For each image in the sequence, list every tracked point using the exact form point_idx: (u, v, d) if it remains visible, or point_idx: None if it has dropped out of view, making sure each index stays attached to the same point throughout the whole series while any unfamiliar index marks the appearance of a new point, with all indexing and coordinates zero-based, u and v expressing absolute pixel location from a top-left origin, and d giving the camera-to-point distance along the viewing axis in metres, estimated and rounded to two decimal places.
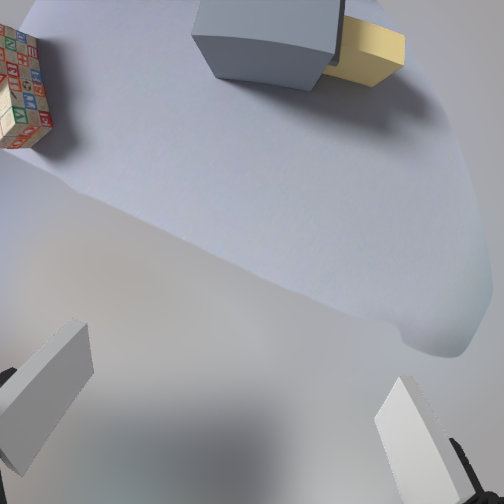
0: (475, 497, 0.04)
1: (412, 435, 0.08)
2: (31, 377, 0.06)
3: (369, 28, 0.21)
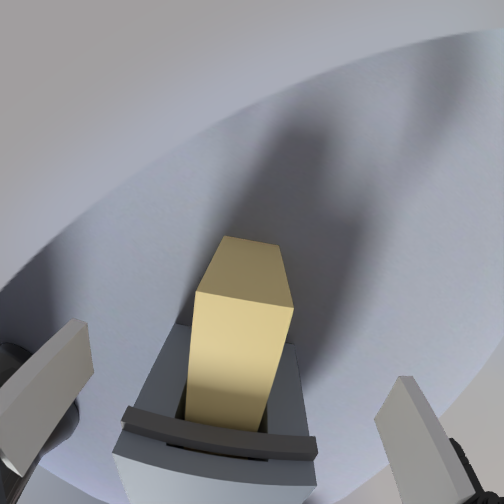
0: (475, 497, 0.04)
1: (412, 435, 0.08)
2: (31, 377, 0.06)
3: (204, 371, 0.13)
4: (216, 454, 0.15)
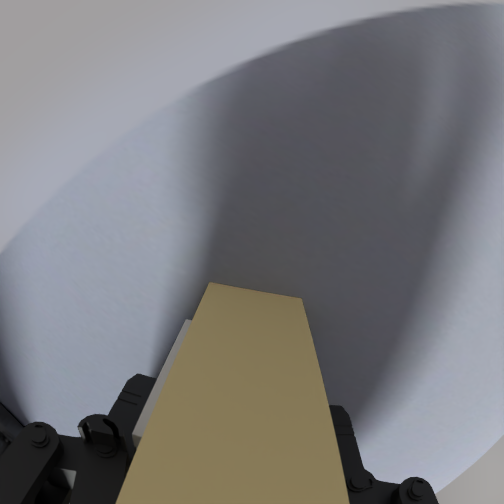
0: None
1: None
2: None
3: None
4: None
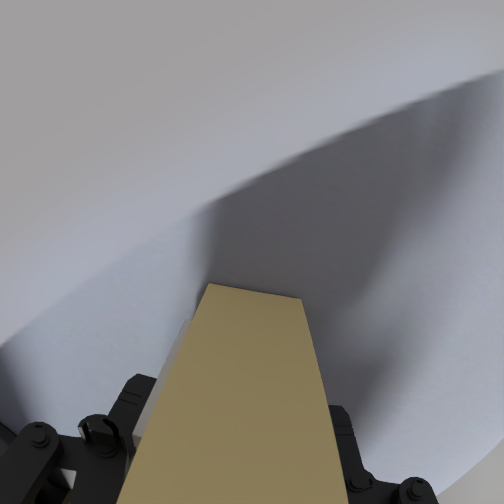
0: None
1: None
2: None
3: None
4: None
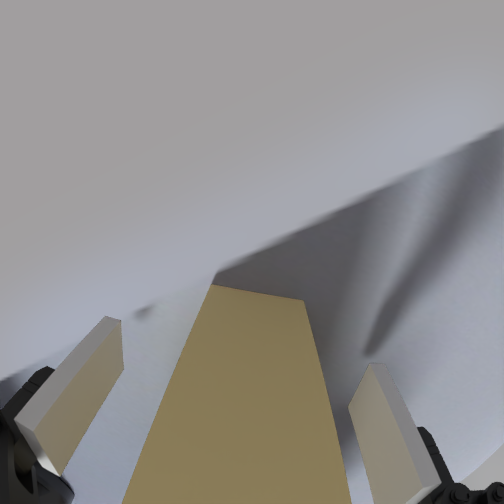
0: (444, 488, 0.05)
1: (380, 421, 0.09)
2: (72, 375, 0.07)
3: None
4: None
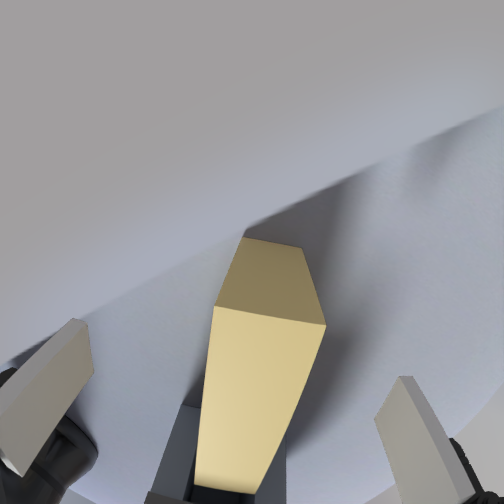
0: (475, 497, 0.04)
1: (412, 435, 0.08)
2: (31, 377, 0.06)
3: (222, 392, 0.11)
4: (230, 472, 0.13)
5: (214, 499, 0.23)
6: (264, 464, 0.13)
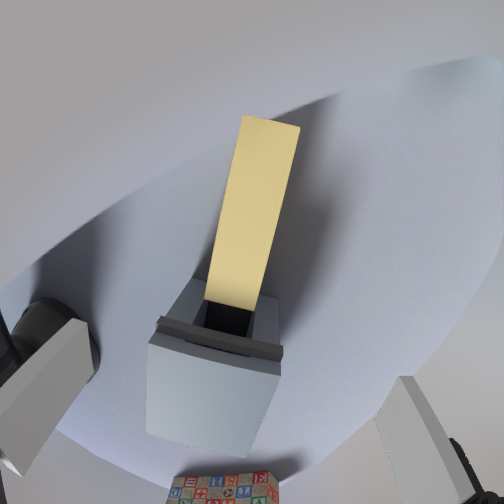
0: (475, 497, 0.04)
1: (412, 435, 0.08)
2: (31, 377, 0.06)
3: (241, 172, 0.20)
4: (237, 271, 0.22)
5: None
6: (264, 256, 0.21)
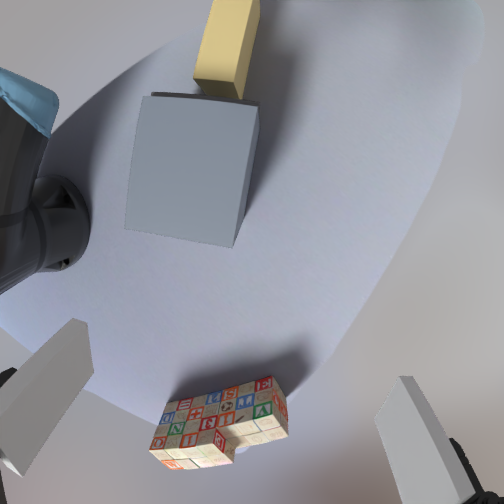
0: (475, 497, 0.04)
1: (412, 435, 0.08)
2: (31, 377, 0.06)
3: None
4: (219, 53, 0.23)
5: None
6: (239, 42, 0.23)
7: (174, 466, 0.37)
